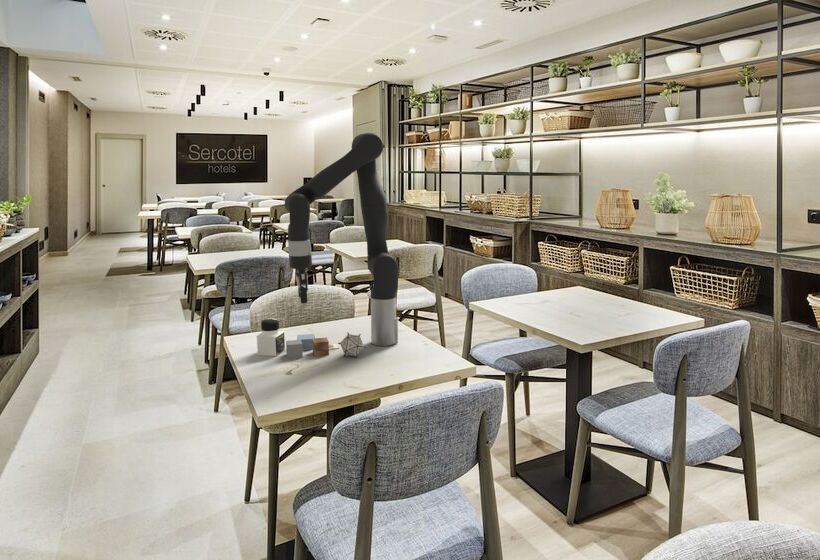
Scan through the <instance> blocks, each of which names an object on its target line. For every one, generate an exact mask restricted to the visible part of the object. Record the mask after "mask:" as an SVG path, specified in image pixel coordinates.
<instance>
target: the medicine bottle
mask: <svg viewBox="0 0 820 560" xmlns="http://www.w3.org/2000/svg"><path fill="white" fill-rule="evenodd" d="M260 324H261V325H260V327H261V328H260V329H261V333H258V335H257V336H256V341H257V342H256V347H257V356H263V357H278V356H279V355H281V354H282V353H283V352H285V350H286V344H285V343H286V342H285V331H284V330H280V321H279V319H276V318H271V317H270V318H265V319H263V320H262V321H260Z"/></svg>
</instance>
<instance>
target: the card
mask: <svg viewBox="0 0 820 560" xmlns="http://www.w3.org/2000/svg"><path fill="white" fill-rule="evenodd" d="M338 349H340V347H339V344H338V343H332V344H329V350H338Z"/></svg>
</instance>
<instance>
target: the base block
mask: <svg viewBox="0 0 820 560" xmlns="http://www.w3.org/2000/svg"><path fill="white" fill-rule="evenodd" d="M296 336H297V339H296V340H301V342H302V351H304V350H307V351H308V350H313V343H312V339H314V338H316V336H315V333H308V334H305V333H304V334H297V335H296Z"/></svg>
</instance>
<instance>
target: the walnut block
mask: <svg viewBox="0 0 820 560" xmlns="http://www.w3.org/2000/svg"><path fill="white" fill-rule="evenodd" d="M329 342H330V341H329V339H328V337H326V336H325V337H317V338H316V337H315V338H314V339H312V343H313V349H312V353H313V355H314V357H322V356H323V357H324V356H330V349H329V345H330V344H329Z"/></svg>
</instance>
